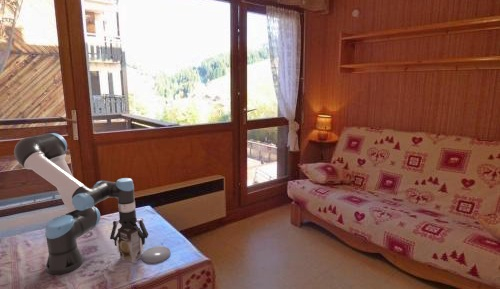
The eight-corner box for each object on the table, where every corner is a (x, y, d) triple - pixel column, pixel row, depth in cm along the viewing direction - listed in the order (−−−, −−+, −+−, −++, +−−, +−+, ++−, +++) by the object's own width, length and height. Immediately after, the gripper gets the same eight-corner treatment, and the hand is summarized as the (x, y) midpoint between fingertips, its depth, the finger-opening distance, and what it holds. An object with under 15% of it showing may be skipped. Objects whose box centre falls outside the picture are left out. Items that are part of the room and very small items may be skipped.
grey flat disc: (138, 264, 144) (138, 262, 144) (145, 248, 157) (145, 246, 157) (167, 262, 145) (167, 261, 145) (172, 247, 159) (172, 245, 158)
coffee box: (119, 258, 149) (116, 228, 145) (130, 252, 154) (127, 223, 151) (132, 263, 144) (129, 233, 141) (142, 256, 150) (140, 227, 147)
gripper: (99, 213, 139) (103, 255, 144) (149, 212, 141) (152, 254, 146) (105, 207, 147) (109, 247, 151) (153, 206, 148) (155, 245, 153)
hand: (130, 250), depth 148 cm, fingers closed on coffee box, 10 cm apart
